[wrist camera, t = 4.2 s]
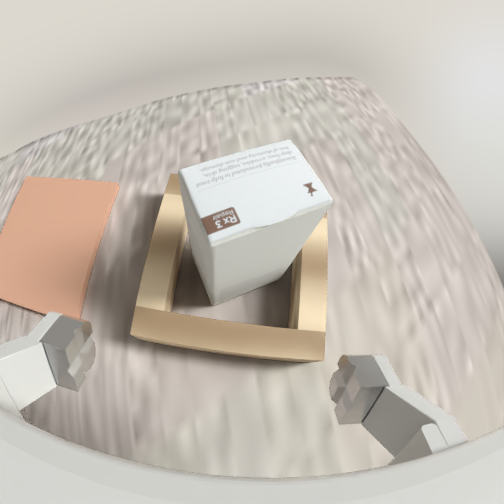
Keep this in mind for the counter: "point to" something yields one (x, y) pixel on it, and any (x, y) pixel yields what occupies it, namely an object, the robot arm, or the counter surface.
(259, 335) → the light wooden square frame
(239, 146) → the counter surface
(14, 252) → the terracotta tile
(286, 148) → the skincare box
